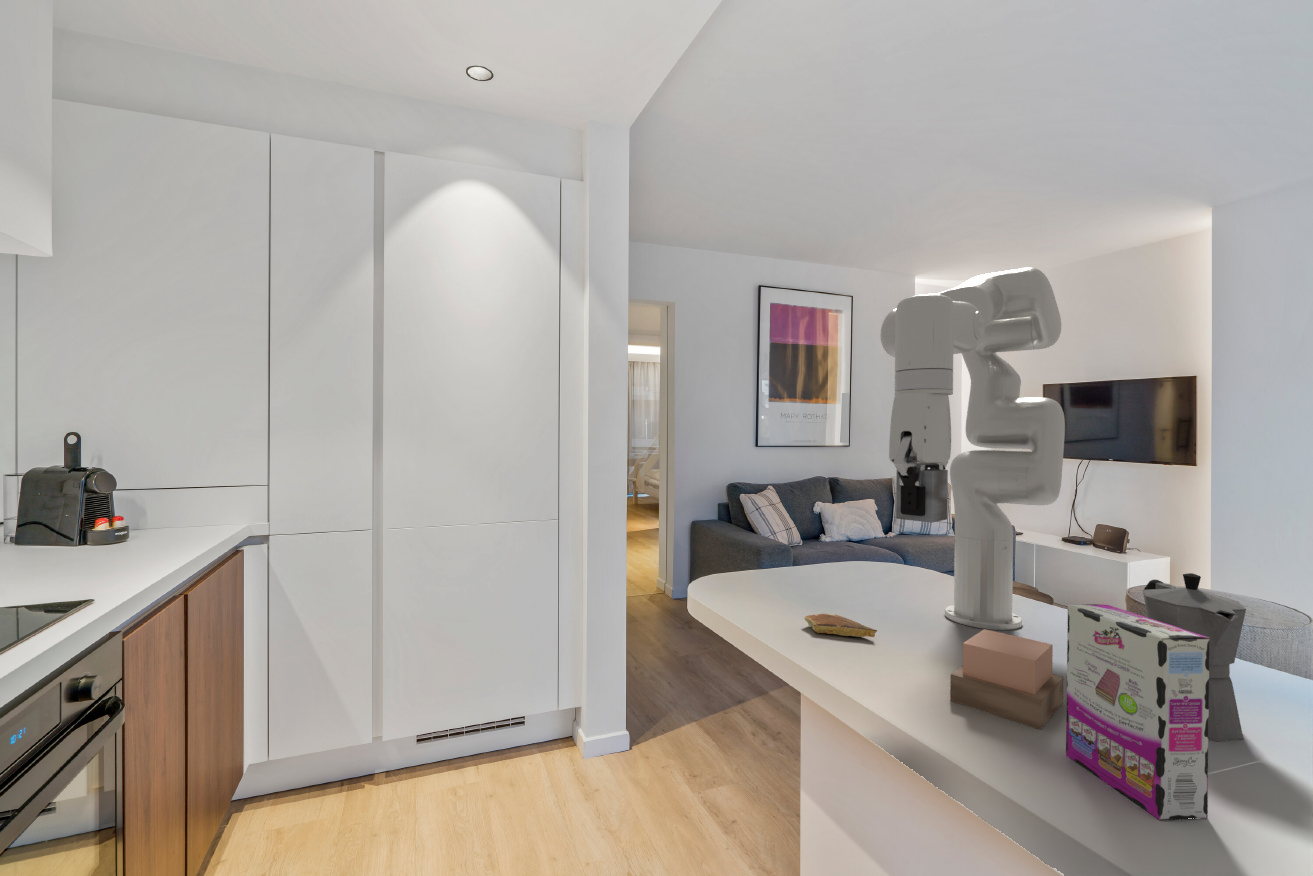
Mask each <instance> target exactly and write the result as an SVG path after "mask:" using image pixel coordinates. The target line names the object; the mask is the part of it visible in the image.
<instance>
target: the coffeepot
mask: <svg viewBox="0 0 1313 876" xmlns="http://www.w3.org/2000/svg"><path fill="white" fill-rule="evenodd" d="M1182 577H1183V581H1184V586H1185V587H1176V586H1175V585H1173V584H1170V583H1166V582H1163V581H1162V580H1159V579H1151V580H1149V581H1148V582H1147V584H1146V585H1145V587H1144V588H1143V589H1142V593H1143V598H1144V599H1143V600H1144V605H1145V610H1146V617H1147V618H1150V619H1153V620H1156V621H1160V622H1163V623H1166V624H1169V625H1172V626H1175V627H1178V628H1181V629H1184V630H1187V631H1190V632H1193V633H1196V634H1199V635H1202V636H1205V637H1209V638H1210V642H1209V717H1208V741H1212V742H1217V743H1219V742H1221V743H1222V742H1230V741H1238V740H1237V739H1239V740H1244V735H1243V734H1244V733H1243V730H1242V726H1241V720H1240V715H1239V710H1238V705H1237V700H1236V696H1235V690H1234V689H1235V688H1234V685H1233V681H1232V678H1231V676H1230V670H1231V668H1230V665H1232V664H1235V660H1236V658H1237V657H1236V656H1237V652H1238V649H1239V648H1238V647H1239V643H1240V639H1241V634H1242V630H1243V625H1244V621H1245V616H1246V613H1247V612H1246V611H1247V609H1246V607H1245V606H1243V604H1242V603H1241V602H1240V601H1238V600H1234V599H1230V598H1227V597H1223V596H1221V595H1218V594H1215V593H1212V592H1208V591H1205V590H1201V589H1199V585H1200V582H1201V578H1202V577H1201V576H1200V575H1198V574H1195V573H1188V572H1187V573H1182Z"/></svg>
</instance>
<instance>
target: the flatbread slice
mask: <svg viewBox="0 0 1313 876" xmlns="http://www.w3.org/2000/svg"><path fill="white" fill-rule="evenodd" d="M804 620H805V621H806V623H807V624H808V626H810V627H811V629H812V630H813V631H814V632H815V633H817V634H827V635H838V636H841V637H842V636H844V637H849V636H850V637H856V638H857V637H858V638H862V637H863V638H864V637H866V638H867V637H869V638H875V636H876V633H877V632H878V629H874V628H871V627H870V626H866V625H864V624H862V623H859V622H857V621H854V620H853V619H849V618H847V617H844V616H841V615H838V614H829V613H819V614H818V613H816V614H811V615H809V614H808V615H806V616H804Z"/></svg>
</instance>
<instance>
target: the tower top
mask: <svg viewBox="0 0 1313 876" xmlns="http://www.w3.org/2000/svg"><path fill="white" fill-rule="evenodd" d="M1053 647H1054V646H1053V644H1052V643H1048V642H1044V641H1041V640H1035V639H1030V638H1026V637H1021V636H1017V635H1012V634H1007V633H1004V632H1000V631H999V632H998V631H996V630H990V629H982V630H981V631H979V632H977V633H976V634H975V635H973V636H972V637H969V639H967V640H966V641H964V642H963V643H962V666H963V674H964V675H968V676H971V677H975V678H978V679H982V680H986V681H989V682H993V683H996V684H1000V685H1003V686H1007V687H1011V688H1014V689H1018V690H1021V691H1025V692H1028V693H1032V694H1035V693H1036V692H1037V691H1038V690H1039V689H1040V688H1041V687H1042V686H1043V685H1044V684H1045V683H1046V682H1047V681H1048V680H1049V679H1050V677H1051V676H1052V674H1053V653H1054V652H1053Z"/></svg>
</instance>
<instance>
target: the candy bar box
mask: <svg viewBox="0 0 1313 876" xmlns="http://www.w3.org/2000/svg"><path fill="white" fill-rule="evenodd" d="M1066 641H1067V646H1066V647H1067V648H1066V650H1067V651H1066V652H1067V653H1066V656H1067V657H1066V660H1067V661H1066V715H1065V716H1066V719H1065V723H1066V724H1065V733H1066V734H1065V755H1066V757H1068V758H1069V759H1070V760H1072V761H1074V763H1076V764H1078V765H1079V766H1080V767H1082V768H1084V770H1087V771H1088V772H1090V773H1091V774H1092V775H1093V776H1095V777H1096V778H1098V779H1100V780H1101V781H1103V782H1104V783H1105V784H1106V785H1109V786H1110V787H1111V788H1113V789H1114V790H1115V791H1116V792H1118V793H1120V795H1122V796H1124V797H1125V798H1127V799H1129V800H1130V801H1131V802H1133V803H1134V804H1136V805H1137V806H1138V807H1140V808H1141V809H1143V811H1146V812H1147V813H1148V814H1150V815H1152V816H1153V817H1155V818H1156V819H1157V820H1159V821H1165V822H1167V820H1169V821H1183V820H1182V819H1187V820H1189V819H1188V818H1192V819H1191V820H1196V819H1195V818H1207V819H1208V817H1209V816H1208V813H1209V812H1208V808H1209V807H1208V806H1209V805H1208V804H1209V802H1208V800H1209V799H1208V798H1209V797H1208V796H1209V791H1208V790H1209V789H1208V788H1209V785H1208V784H1209V783H1208V782H1209V775H1208V774H1209V740H1208V717H1209V642H1210V638H1209V637H1205V636H1202V635H1199V634H1196V633H1193V632H1190V631H1187V630H1184V629H1181V628H1178V627H1175V626H1172V625H1169V624H1166V623H1163V622H1160V621H1156V620H1153V619H1150V618H1147V616H1143V615H1141V614H1138V613H1135V612H1131V611H1128V610H1125V609H1122V608H1118V607H1116V606H1113V605H1109V604H1099V603H1097V604H1096V603H1087V604H1068V605H1067V640H1066ZM1193 818H1194V819H1193ZM1179 819H1181V820H1179Z"/></svg>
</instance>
